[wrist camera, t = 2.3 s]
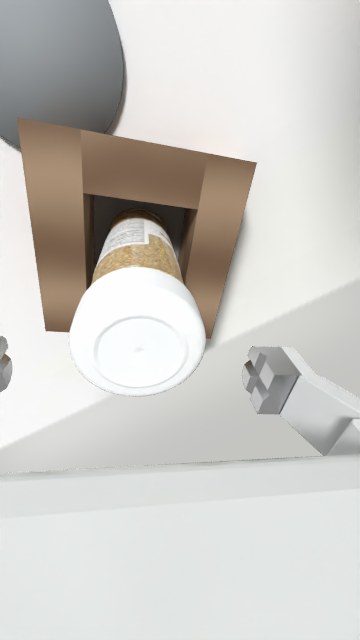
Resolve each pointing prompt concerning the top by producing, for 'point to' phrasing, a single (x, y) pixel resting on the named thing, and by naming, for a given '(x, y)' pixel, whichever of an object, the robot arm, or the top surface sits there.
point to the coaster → (58, 64)
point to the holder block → (133, 184)
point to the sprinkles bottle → (137, 313)
